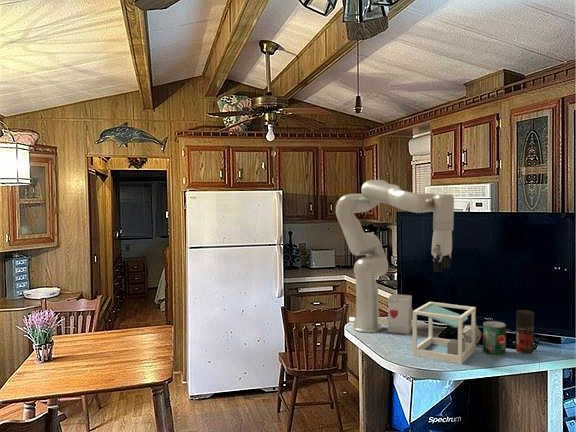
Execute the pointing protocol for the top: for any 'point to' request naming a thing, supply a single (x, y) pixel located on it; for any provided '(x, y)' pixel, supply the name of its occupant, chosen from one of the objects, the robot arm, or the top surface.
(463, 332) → the game die
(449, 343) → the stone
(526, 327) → the deodorant
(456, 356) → the frame
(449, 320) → the trapdoor
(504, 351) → the canned tomato
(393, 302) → the supplement box
